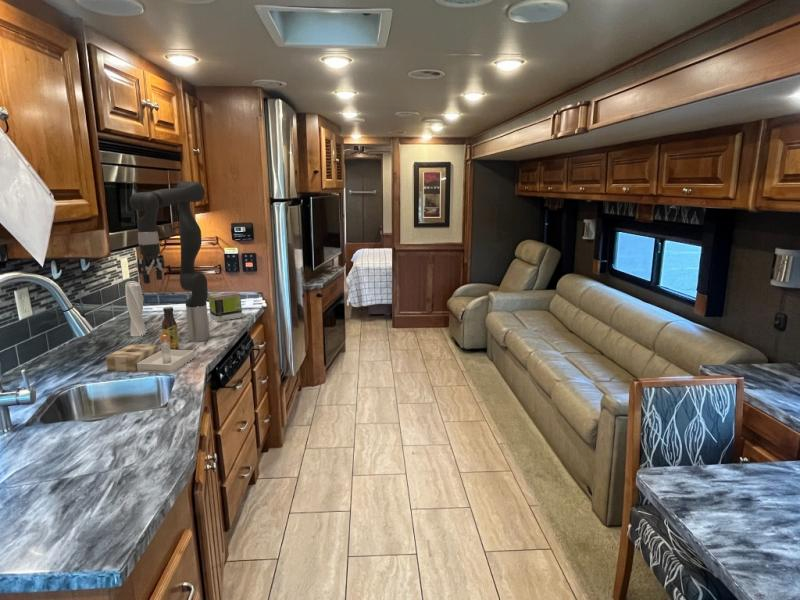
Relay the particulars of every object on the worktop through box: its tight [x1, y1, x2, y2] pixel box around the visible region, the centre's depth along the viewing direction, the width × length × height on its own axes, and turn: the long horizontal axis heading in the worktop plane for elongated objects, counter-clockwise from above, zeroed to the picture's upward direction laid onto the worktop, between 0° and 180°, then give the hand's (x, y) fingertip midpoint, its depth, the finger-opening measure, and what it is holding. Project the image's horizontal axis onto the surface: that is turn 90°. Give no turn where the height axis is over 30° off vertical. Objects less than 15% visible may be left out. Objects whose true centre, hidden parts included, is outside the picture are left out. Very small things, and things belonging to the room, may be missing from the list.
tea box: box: [208, 290, 243, 322], centre depth 269 cm, size 15×10×15 cm, turn 130°
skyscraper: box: [124, 280, 148, 337], centre depth 236 cm, size 8×8×28 cm
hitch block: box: [105, 343, 160, 373], centre depth 198 cm, size 16×12×6 cm
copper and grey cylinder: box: [159, 333, 171, 364], centre depth 197 cm, size 3×3×12 cm
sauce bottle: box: [161, 306, 180, 350], centre depth 214 cm, size 7×6×20 cm
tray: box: [137, 349, 195, 374], centre depth 198 cm, size 18×14×4 cm
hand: (153, 281), depth 198 cm, fingers open, 8 cm apart
